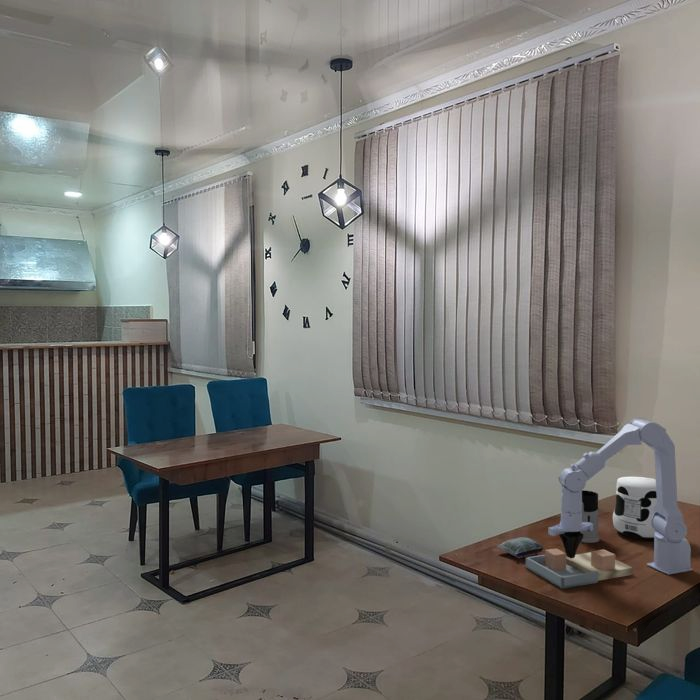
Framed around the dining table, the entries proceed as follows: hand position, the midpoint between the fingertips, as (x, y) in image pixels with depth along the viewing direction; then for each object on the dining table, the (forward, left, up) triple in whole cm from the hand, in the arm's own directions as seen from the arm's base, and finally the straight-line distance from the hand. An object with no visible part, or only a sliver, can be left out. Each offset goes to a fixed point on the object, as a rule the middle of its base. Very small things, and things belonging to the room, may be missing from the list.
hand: (570, 556), depth 187 cm
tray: (+6, +4, -3) cm, 8 cm away
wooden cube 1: (+3, 0, 0) cm, 3 cm away
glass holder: (-20, -17, -3) cm, 27 cm away
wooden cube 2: (-6, +7, -1) cm, 9 cm away
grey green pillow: (+7, -15, -4) cm, 17 cm away
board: (-7, +4, -3) cm, 8 cm away
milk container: (-42, -15, -3) cm, 45 cm away
